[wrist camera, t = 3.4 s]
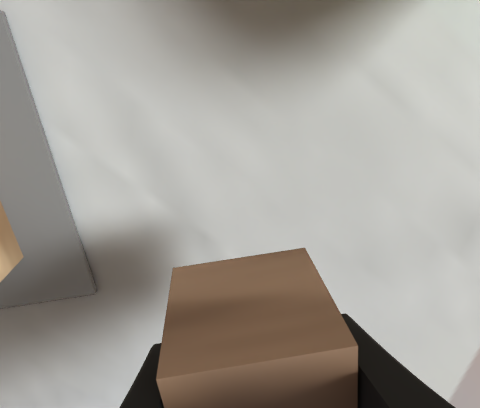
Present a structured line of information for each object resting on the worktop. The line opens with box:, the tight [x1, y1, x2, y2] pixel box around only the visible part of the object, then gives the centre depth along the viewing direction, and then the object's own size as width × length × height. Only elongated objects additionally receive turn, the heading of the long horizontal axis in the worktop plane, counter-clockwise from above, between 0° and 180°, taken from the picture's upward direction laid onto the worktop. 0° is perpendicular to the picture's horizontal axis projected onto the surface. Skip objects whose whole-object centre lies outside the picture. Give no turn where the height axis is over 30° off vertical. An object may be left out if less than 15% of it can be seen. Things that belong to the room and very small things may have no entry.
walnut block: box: [156, 248, 358, 408], centre depth 10 cm, size 4×4×4 cm
